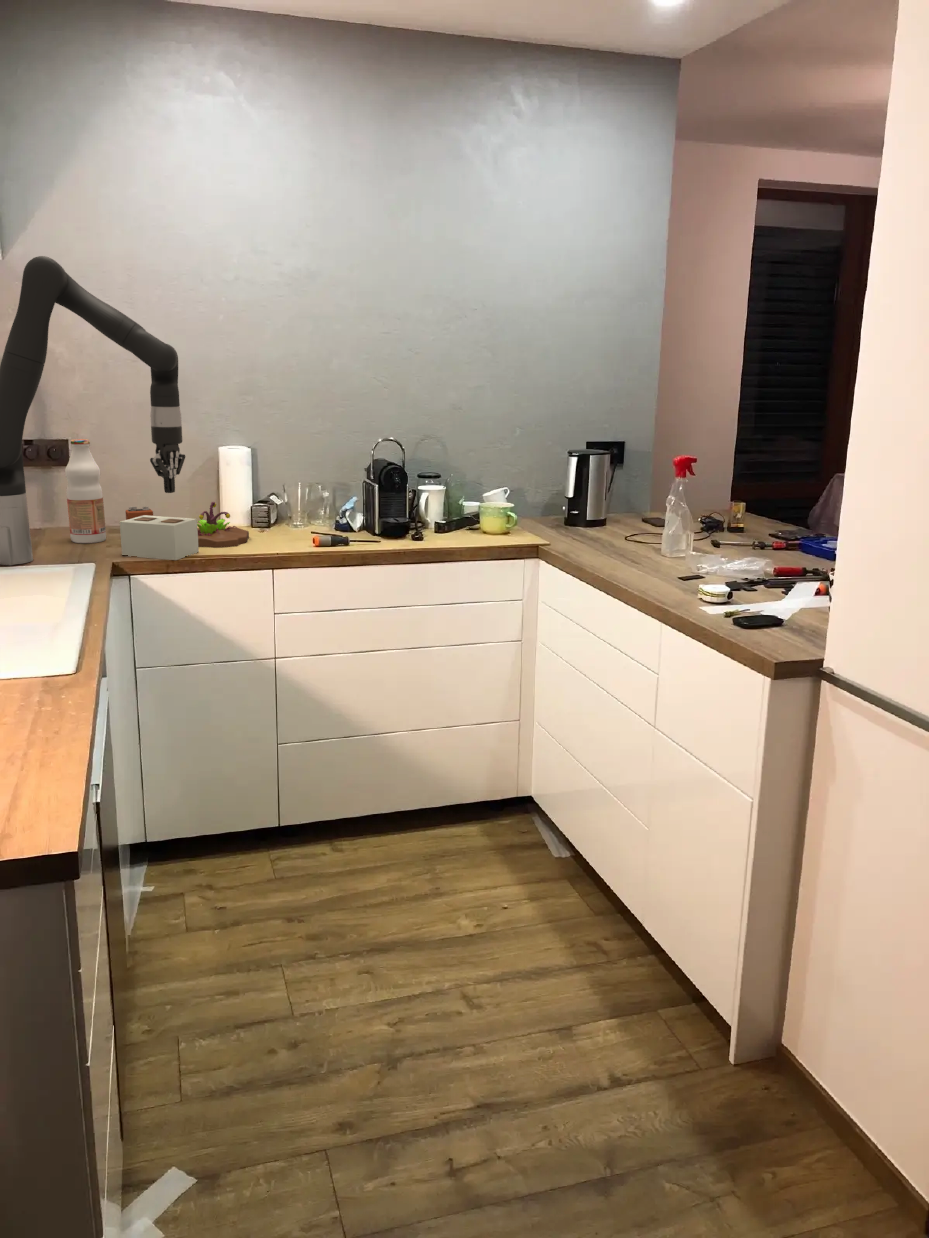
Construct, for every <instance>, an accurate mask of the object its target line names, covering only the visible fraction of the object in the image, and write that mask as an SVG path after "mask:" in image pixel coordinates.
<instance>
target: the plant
mask: <svg viewBox="0 0 929 1238" xmlns="http://www.w3.org/2000/svg"><path fill="white" fill-rule="evenodd" d="M216 507H217V503H216V502H215V501H211V502H210V505H209V512H208V511H207V510H204V511H203V512H202V513H200V514H199V515H198V518H199V520H197V530H198V548H214V549H215V548H216V549H218V548H219V549H220V548H222V549H223V548H232V547H239V545H245V544H247V543H248V541H249V539H250V533H249V532H250V531H248V530H246V529H242V528H240V527H237V526H235V525H233V526H230V523H231V521H228V522H226V523H225V521H226V519H230V517H231V514H230V513H229V512H228V511H220V512H218V513H217V514H216V515H214V508H216ZM221 515H224V516H225V518H226V519H225V518H220V519H218V518H219V517H220V516H221ZM205 516H206V519H204V518H205ZM228 525H229V526H228Z"/></svg>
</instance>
